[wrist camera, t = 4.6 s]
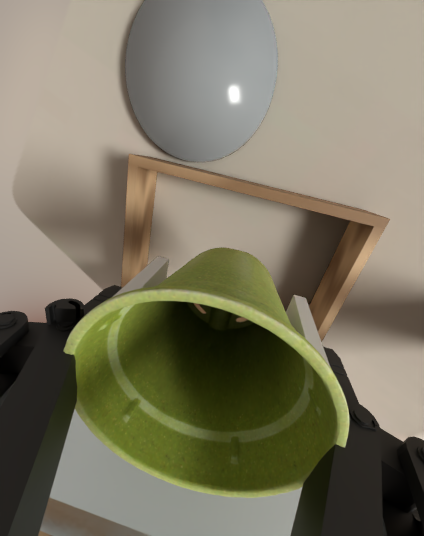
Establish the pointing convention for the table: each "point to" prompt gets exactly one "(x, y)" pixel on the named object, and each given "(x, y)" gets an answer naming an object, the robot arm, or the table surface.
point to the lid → (147, 500)
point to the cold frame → (352, 243)
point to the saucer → (201, 74)
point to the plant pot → (208, 381)
